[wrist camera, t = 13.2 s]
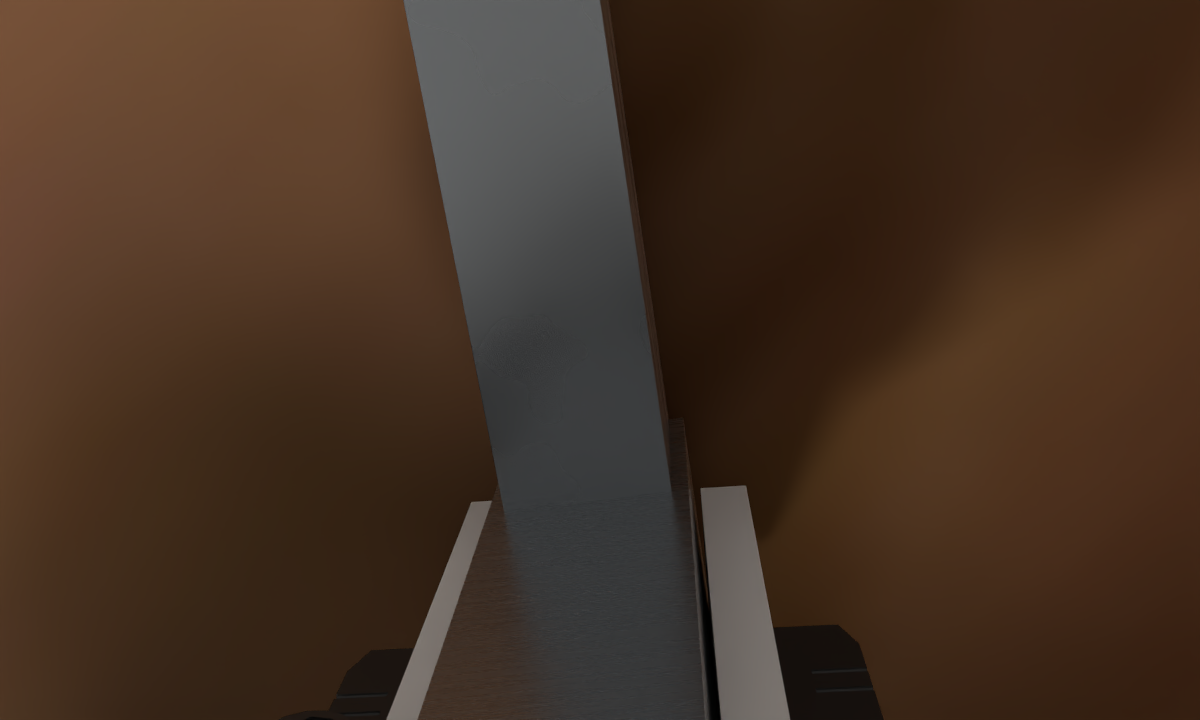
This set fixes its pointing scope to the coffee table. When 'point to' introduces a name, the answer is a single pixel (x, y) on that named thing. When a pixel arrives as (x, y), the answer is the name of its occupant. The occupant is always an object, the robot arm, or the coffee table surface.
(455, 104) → the crook
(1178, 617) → the coffee table surface
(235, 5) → the coffee table surface
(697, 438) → the coffee table surface
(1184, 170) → the coffee table surface
